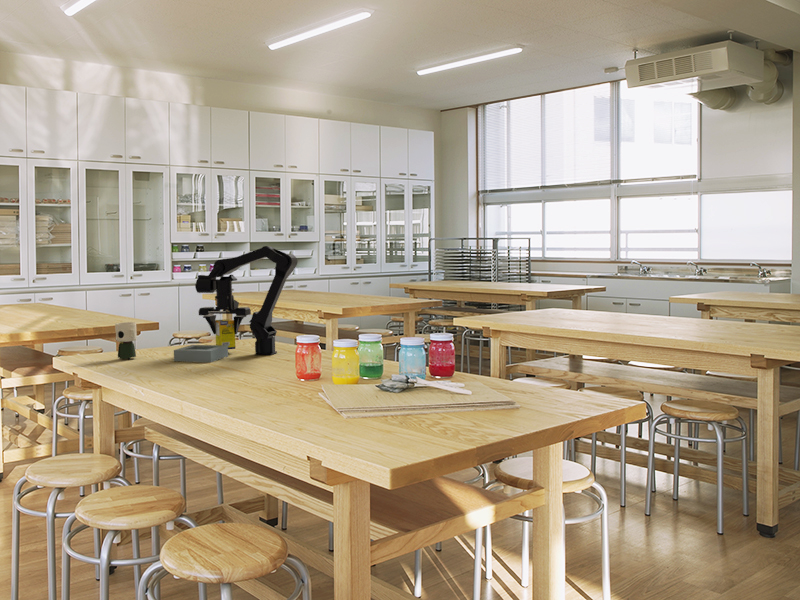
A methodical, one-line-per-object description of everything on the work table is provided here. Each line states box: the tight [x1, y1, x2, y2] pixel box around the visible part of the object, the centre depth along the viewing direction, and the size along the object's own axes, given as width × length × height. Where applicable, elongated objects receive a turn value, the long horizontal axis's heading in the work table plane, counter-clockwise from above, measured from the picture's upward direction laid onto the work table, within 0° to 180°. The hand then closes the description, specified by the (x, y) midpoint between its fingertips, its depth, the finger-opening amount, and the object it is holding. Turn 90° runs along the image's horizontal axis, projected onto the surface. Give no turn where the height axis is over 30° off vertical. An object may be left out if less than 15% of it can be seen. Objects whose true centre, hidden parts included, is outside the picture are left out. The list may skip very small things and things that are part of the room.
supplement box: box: [215, 318, 236, 350], centre depth 268 cm, size 6×6×11 cm
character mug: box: [114, 321, 138, 360], centre depth 256 cm, size 11×7×13 cm, turn 49°
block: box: [173, 344, 229, 363], centre depth 255 cm, size 14×14×4 cm
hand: (225, 334), depth 268 cm, fingers closed on supplement box, 8 cm apart
